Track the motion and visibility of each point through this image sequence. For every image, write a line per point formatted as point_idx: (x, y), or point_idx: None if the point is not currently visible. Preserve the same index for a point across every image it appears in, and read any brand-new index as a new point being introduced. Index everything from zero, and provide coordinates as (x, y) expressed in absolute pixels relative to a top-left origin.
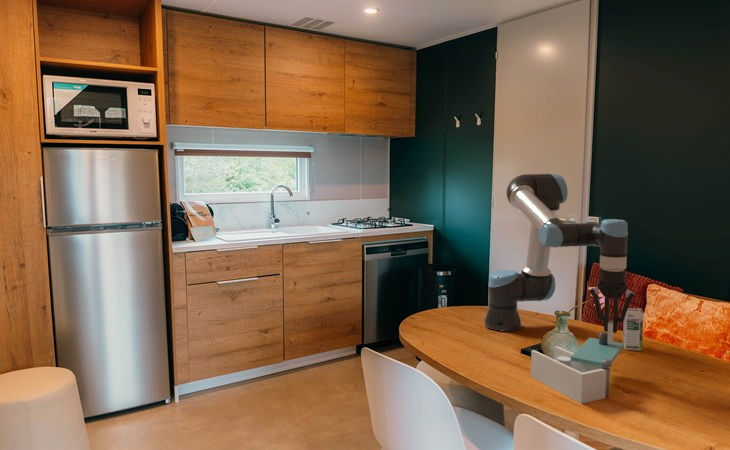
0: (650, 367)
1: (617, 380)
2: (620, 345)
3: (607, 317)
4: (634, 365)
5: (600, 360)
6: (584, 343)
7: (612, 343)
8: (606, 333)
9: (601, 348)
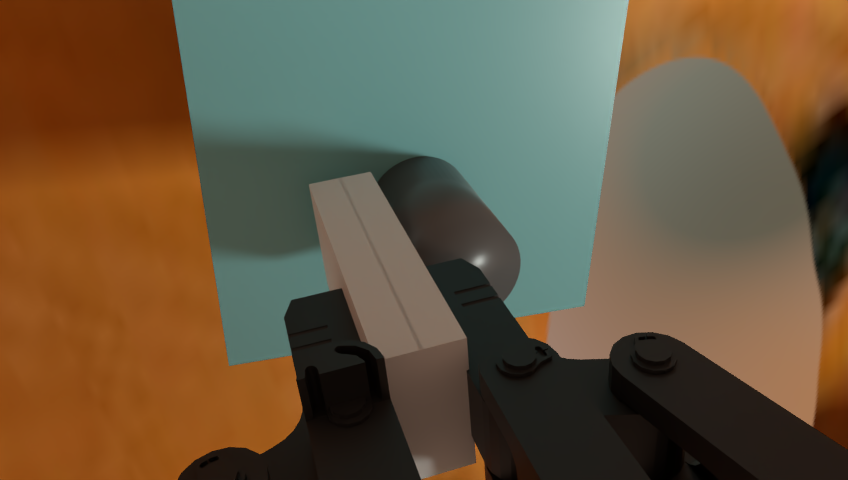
0: (97, 447)
1: None
2: (234, 276)
3: (525, 417)
4: (203, 408)
5: None
6: (611, 67)
7: None
8: None
9: (397, 4)
